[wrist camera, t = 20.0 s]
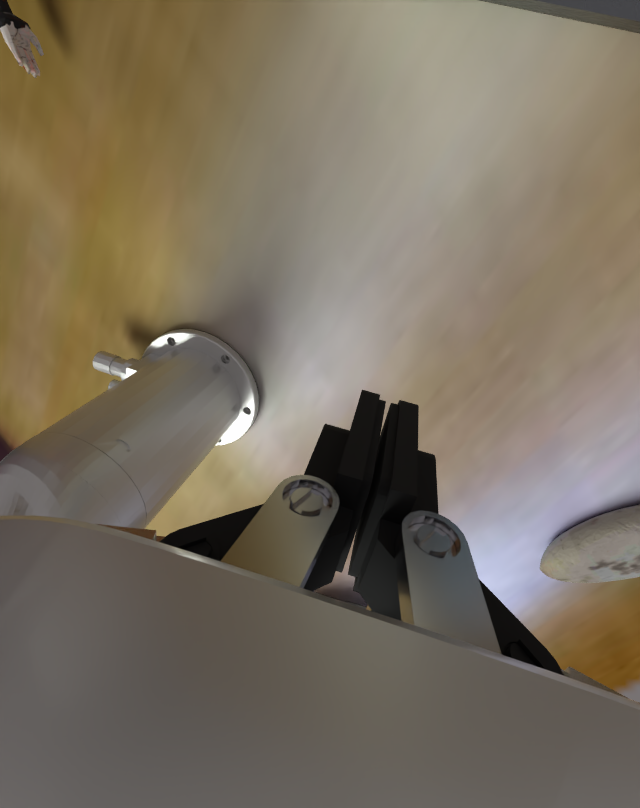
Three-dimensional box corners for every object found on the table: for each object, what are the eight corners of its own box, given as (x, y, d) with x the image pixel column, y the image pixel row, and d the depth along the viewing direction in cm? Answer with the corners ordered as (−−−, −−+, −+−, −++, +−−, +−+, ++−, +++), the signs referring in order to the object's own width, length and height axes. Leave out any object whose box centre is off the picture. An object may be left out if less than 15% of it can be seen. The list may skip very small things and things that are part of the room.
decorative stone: (745, 519, 32) (775, 553, 29) (556, 575, 40) (564, 605, 37) (710, 468, 31) (737, 498, 28) (521, 536, 39) (527, 564, 36)
